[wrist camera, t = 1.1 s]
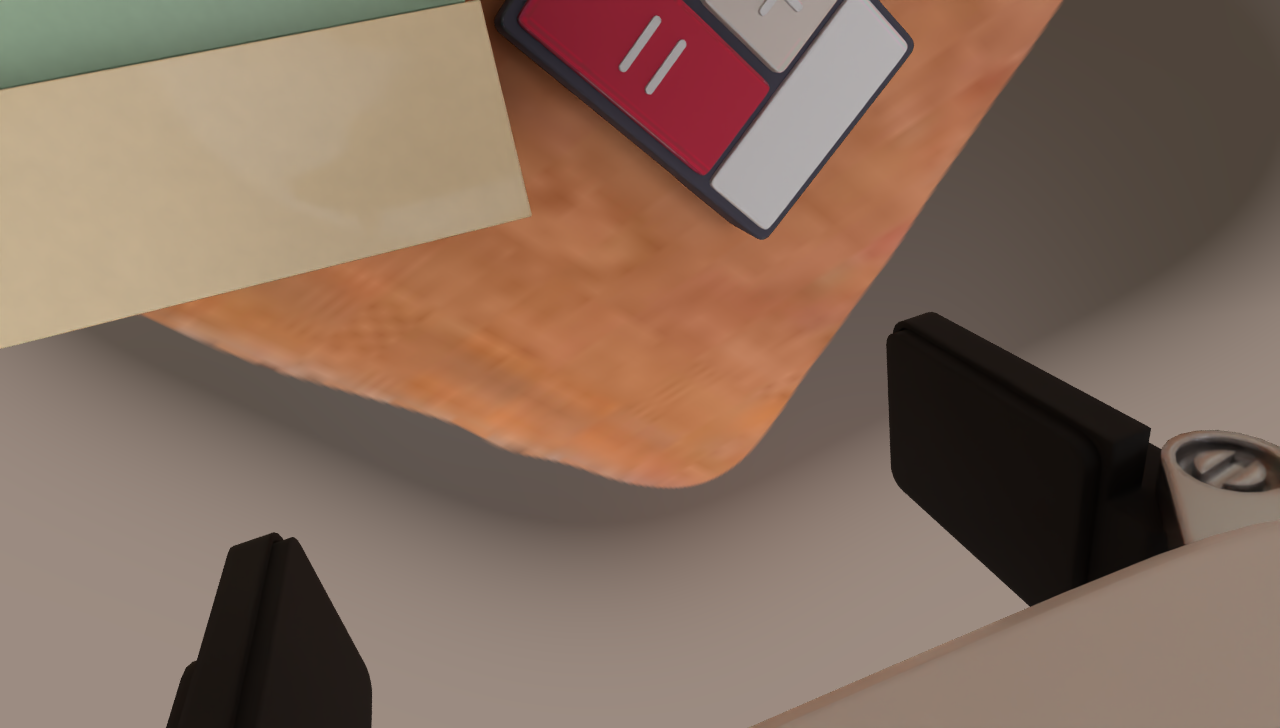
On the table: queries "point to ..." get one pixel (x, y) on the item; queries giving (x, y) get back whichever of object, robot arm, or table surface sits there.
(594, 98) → the calculator
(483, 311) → the table surface
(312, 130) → the step rack
